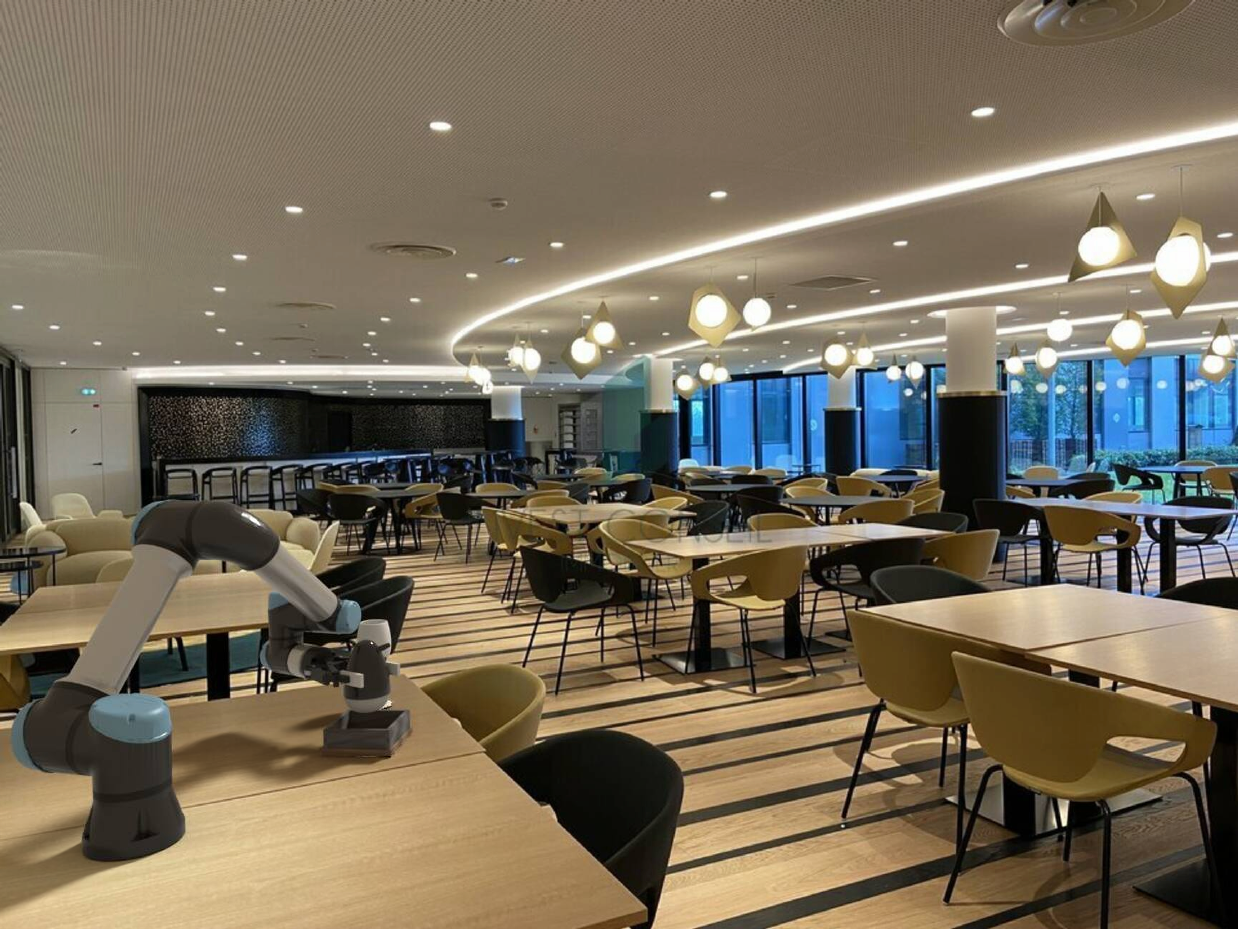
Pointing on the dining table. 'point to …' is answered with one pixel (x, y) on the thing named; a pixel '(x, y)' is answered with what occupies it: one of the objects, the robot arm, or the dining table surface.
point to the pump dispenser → (368, 677)
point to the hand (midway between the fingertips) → (380, 675)
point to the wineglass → (376, 636)
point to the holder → (367, 733)
